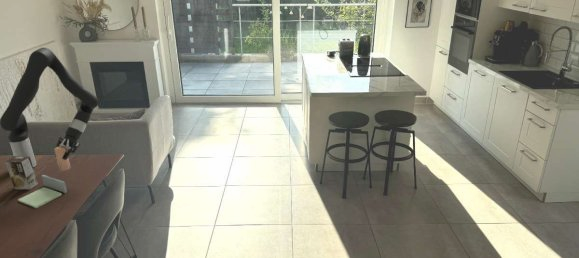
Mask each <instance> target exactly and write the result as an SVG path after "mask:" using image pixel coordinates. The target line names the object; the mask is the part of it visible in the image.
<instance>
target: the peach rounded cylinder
mask: <svg viewBox="0 0 579 258" xmlns="http://www.w3.org/2000/svg"><path fill="white" fill-rule="evenodd" d="M66 149H67V148H66V147H65V146H60V145H59V147H56V146H55V148H54V155H55V154H56V162H57V166H58V168H59V171H60V172H64V171H68V170H71V164H70V160H69V157H68V158H67V159H66V160H64V159H62V157H63V155H64V154H65V152H66Z"/></svg>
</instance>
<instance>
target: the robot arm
mask: <svg viewBox="0 0 579 258" xmlns="http://www.w3.org/2000/svg"><path fill="white" fill-rule="evenodd" d="M27 61H28V62H27V64H26V68H25V70H24V72H23V73H22V76H21V78H20V80H19V82H18V83H17V85H16V88H15V90H14V92H13V94H12V97H11V98H10V101H9V104H8V105H7V108H6V109H5V111H4V112H3V114H2V115H1V117H0V127H1V129H2V130H4V131H8V132H9V135H8V138H7V139H8V142H9V144H10V147H11V151H12V154H13V157H14V156H23V157H30V159H31V162H32V165H33V168H34V167H36V166H37V160H36V158H35V155H34V151H33V147H32V144H31V141H30V136H29V126H28V123H27V119H26V116H25V114H24V111H26V109H27V108H28V107H29V106H30V104H32V102H33V100H34V99H35V98H36V95H37V94H38V91H39V88H40V80H41V76H42V75H43V73H44V71H45V70H46V69H47V68H50V69H51V70H52V71H53V72H54V73H55V75H57V77H58V79H59V81H60V83H61V84H62V86H63V87H64V88H65V89H66V90H67V91H68V92H69V93H70V94H71V95H72V96H73V97H75V98H78V99H79V100H80V101H81V102H80V105H79V109H78V111H77V112H76V114H75V115H74V117H73V119H72V120H71V122H70V123H69V126H68V127H67V129H66V130H65V131H64V135H65V136H64V137H63V138H62V137H59V138H58V141H57V143H56V146H55V148H56V147H59V146H65V147H66V152H65V154H64V155H63V157H62V159H64V160H66V159H67V158H68V159H69V156H70V155H71V154H74V153H75V152H76V151H77V150H78V148H79V147H80V145H81V144H80V142H78V140H80V139H81V137H82V135H83V134H84V131H85V129H86V127H87V125H88V123H89V121H90V119H91V115H92V113H93V111H94V109H95V108H97V107H98V106H99V103H100V101H99V99H98V97H97V96H96V95H95V94H94V93H92V92H91V91H90V90H89V89H86V88H85V87H84V85H82V83H80V82H79V81H78V80H77V79H76V78H75V77H74V76H73V75H72V74H71V73H70V72H69V70H68V69H67V68H66V67H65V66H64V64H63V62H62V61H61V60H60V59H59V58H58V56H57V55H56V54H55V53H54V52H53V51H52V49H50V48H47V47H40V48H38V49H35V50H34V51H32V52H31V53H30V55H29V57H28V60H27ZM55 157H56V154H55V153H54V158H55Z"/></svg>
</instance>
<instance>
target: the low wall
mask: <svg viewBox="0 0 579 258" xmlns="http://www.w3.org/2000/svg"><path fill="white" fill-rule="evenodd" d="M41 179H42V183H43V187H45V188H48V189H51V190H54V191H57V192H58V191H59V192H60V193H64V194H67V193H68V188H67V185H66V182H65V181H63V180H60V179H58V178H54V177H51V176H48V175H46V174H42V175H41Z"/></svg>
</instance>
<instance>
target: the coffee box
mask: <svg viewBox="0 0 579 258" xmlns="http://www.w3.org/2000/svg"><path fill="white" fill-rule="evenodd" d="M4 163H5V165H6V168H7V170H8V174H9V177H10V180H11V182H12V185H13V187H14V190H32V189H33V188H34V187H36V186H37V185H38V184H39V183H38V180H37V176H36V172H35V169H34V167H33V165H32V162H31V159H30V157H23V156H14V155H13V157H11V158H9V159H8V160H6V161H5V162H4Z"/></svg>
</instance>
